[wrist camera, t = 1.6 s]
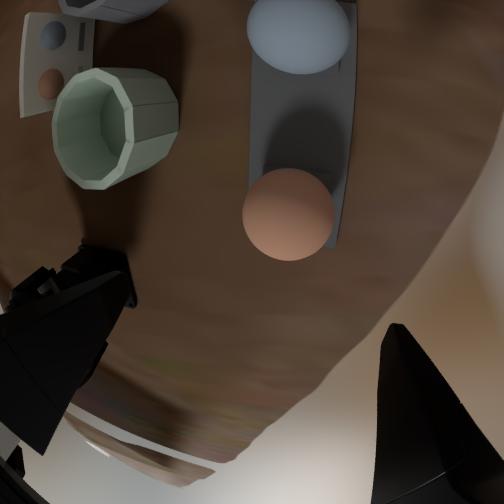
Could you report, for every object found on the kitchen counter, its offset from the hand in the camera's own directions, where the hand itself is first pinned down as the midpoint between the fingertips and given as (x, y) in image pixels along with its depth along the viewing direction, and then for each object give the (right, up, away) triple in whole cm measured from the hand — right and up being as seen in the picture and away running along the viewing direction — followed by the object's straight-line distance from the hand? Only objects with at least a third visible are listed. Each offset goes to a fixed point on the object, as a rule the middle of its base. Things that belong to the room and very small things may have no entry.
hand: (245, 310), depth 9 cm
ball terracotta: (+3, +5, +9) cm, 11 cm away
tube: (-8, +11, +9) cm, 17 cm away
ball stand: (+3, +10, +7) cm, 12 cm away
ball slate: (+3, +14, +4) cm, 15 cm away
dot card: (-13, +17, +7) cm, 23 cm away
